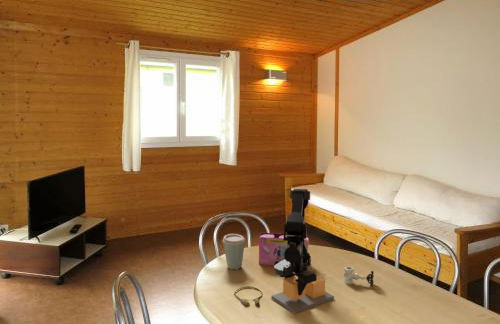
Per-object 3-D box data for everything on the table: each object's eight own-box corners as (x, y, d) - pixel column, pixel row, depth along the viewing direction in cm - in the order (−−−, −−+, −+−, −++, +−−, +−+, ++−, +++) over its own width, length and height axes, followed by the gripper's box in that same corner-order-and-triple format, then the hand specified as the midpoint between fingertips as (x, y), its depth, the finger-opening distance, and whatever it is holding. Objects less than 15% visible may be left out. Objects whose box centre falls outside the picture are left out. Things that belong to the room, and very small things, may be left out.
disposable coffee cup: (249, 265, 189) (249, 235, 187) (237, 273, 180) (236, 241, 178) (231, 261, 194) (231, 231, 192) (218, 268, 185) (217, 237, 183)
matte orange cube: (295, 290, 156) (295, 275, 155) (305, 296, 151) (305, 280, 150) (283, 294, 152) (283, 279, 152) (293, 300, 147) (293, 284, 147)
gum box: (309, 261, 193) (310, 235, 192) (308, 268, 186) (308, 240, 184) (261, 258, 198) (261, 232, 197) (258, 264, 191) (258, 237, 189)
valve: (342, 285, 167) (372, 289, 163) (343, 270, 167) (372, 274, 162) (344, 279, 174) (373, 283, 169) (345, 264, 173) (373, 268, 168)
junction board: (271, 298, 156) (271, 281, 155) (309, 286, 167) (310, 269, 166) (294, 313, 144) (294, 294, 143) (333, 299, 155) (334, 281, 154)
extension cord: (227, 305, 152) (227, 300, 151) (238, 287, 167) (238, 283, 166) (258, 309, 149) (258, 304, 148) (267, 290, 164) (267, 286, 163)
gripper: (263, 249, 153) (263, 288, 155) (294, 265, 137) (293, 307, 139) (285, 244, 159) (285, 281, 161) (318, 258, 143) (317, 299, 145)
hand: (294, 291), depth 151 cm, fingers closed on matte orange cube, 6 cm apart
